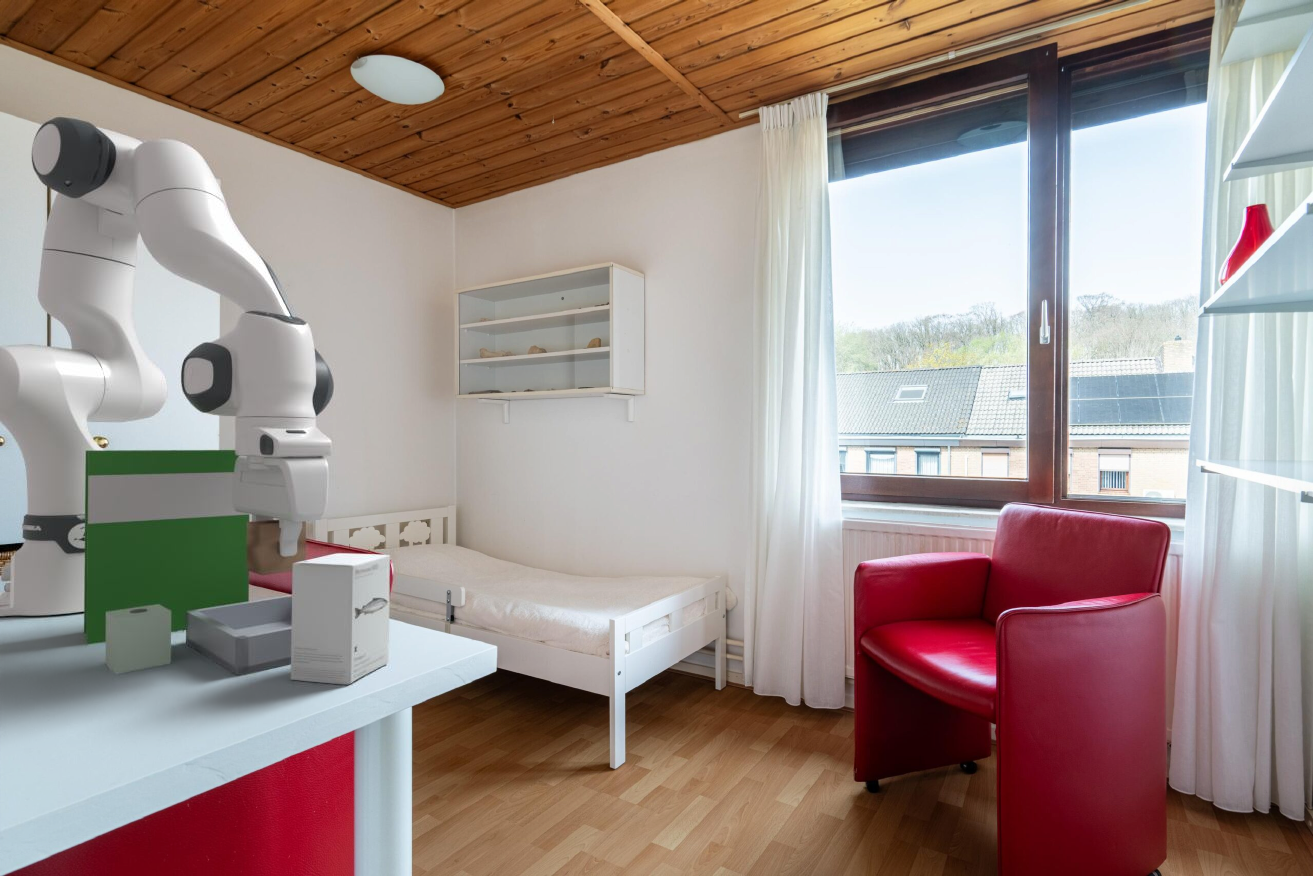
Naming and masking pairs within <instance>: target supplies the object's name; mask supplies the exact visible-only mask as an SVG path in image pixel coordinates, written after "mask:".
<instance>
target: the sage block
mask: <svg viewBox="0 0 1313 876" xmlns="http://www.w3.org/2000/svg"><path fill="white" fill-rule="evenodd" d="M104 659H105V662H104V663H105V665H106V666H107V667H108V668H109V669H110V670H111V671H112V672H114V674H115V675H119V674H124V673H128V672H135V671H139V670H143V669H144V670H145V669H148V668H149V669H150V668H154V667H159V666H163V665H169V664H171V663H172V662H171V661H172V632H171V611H170V610H168V609H167V608H165V607H163V606H161V605H159V604H156V605H149V606H142V607H135V608H129V609H122V610H115V611H108V612H106V642H105V658H104ZM153 666H154V667H153Z"/></svg>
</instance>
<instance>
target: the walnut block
mask: <svg viewBox="0 0 1313 876" xmlns="http://www.w3.org/2000/svg"><path fill="white" fill-rule="evenodd" d="M306 523H307V521H302V529H301V532H300V535H299V538H298V540H297V553H296V554H295V555H294V556H286V557H284V556H280V555H278V554H277V541H279V540H280V534H281V528H280V527H279V519H274V520H265V521H253V522H252V521H249V522H247V571H249V573H250V572H251V573H254V574H257V575H260V576H266V575H267V576H268V575H269V576H270V575H274V574H275V575H276V574H283V573H291V572H292V567H293V563H297V562H301V561H305V560H307V549H306V548H307V545H306V544H307V540H306V539H307V538H306V537H307V533H306V532H307V531H306V530H307V524H306Z"/></svg>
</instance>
